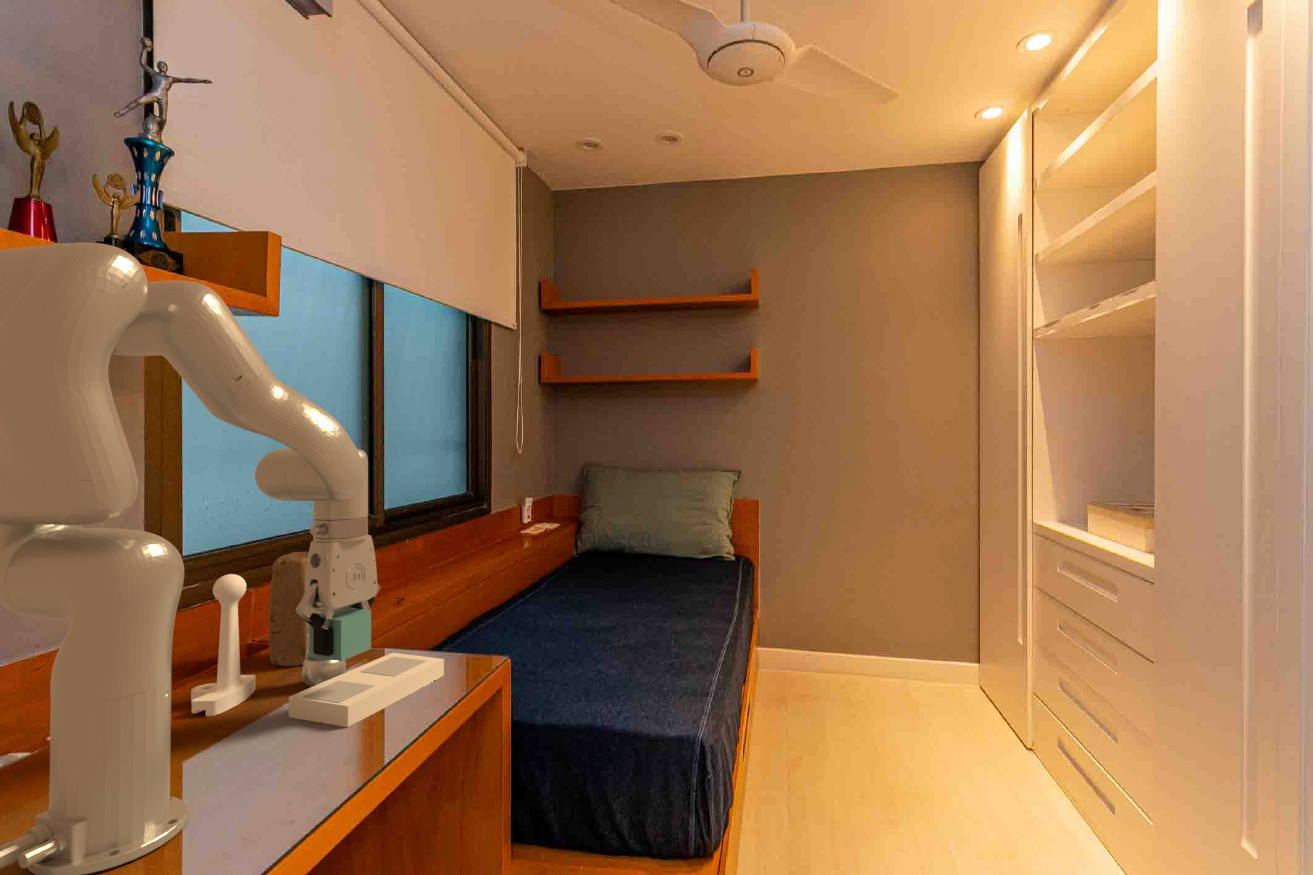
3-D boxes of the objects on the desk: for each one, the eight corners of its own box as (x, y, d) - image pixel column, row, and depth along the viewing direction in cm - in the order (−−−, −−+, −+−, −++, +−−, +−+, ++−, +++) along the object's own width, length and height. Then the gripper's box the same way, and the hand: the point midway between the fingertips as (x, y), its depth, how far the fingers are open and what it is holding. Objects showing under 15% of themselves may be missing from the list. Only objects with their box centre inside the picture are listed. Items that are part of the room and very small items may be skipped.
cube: (341, 661, 96) (341, 620, 96) (309, 656, 98) (309, 616, 98) (371, 648, 101) (371, 610, 101) (340, 644, 103) (340, 606, 103)
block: (306, 668, 118) (307, 557, 118) (263, 669, 118) (264, 558, 118) (332, 649, 129) (333, 548, 129) (293, 650, 129) (294, 548, 129)
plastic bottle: (354, 682, 111) (355, 564, 111) (315, 695, 105) (316, 571, 106) (332, 675, 115) (333, 561, 115) (293, 687, 109) (294, 567, 109)
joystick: (221, 715, 97) (223, 581, 98) (168, 716, 97) (170, 581, 97) (262, 688, 109) (263, 567, 109) (215, 689, 108) (216, 568, 108)
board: (347, 727, 93) (348, 705, 93) (288, 717, 97) (288, 696, 97) (443, 676, 114) (443, 658, 114) (392, 669, 118) (392, 651, 118)
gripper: (314, 538, 90) (314, 669, 90) (400, 523, 106) (400, 633, 106) (272, 536, 92) (272, 663, 92) (363, 521, 109) (363, 629, 109)
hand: (341, 646), depth 99 cm, fingers closed on cube, 6 cm apart
